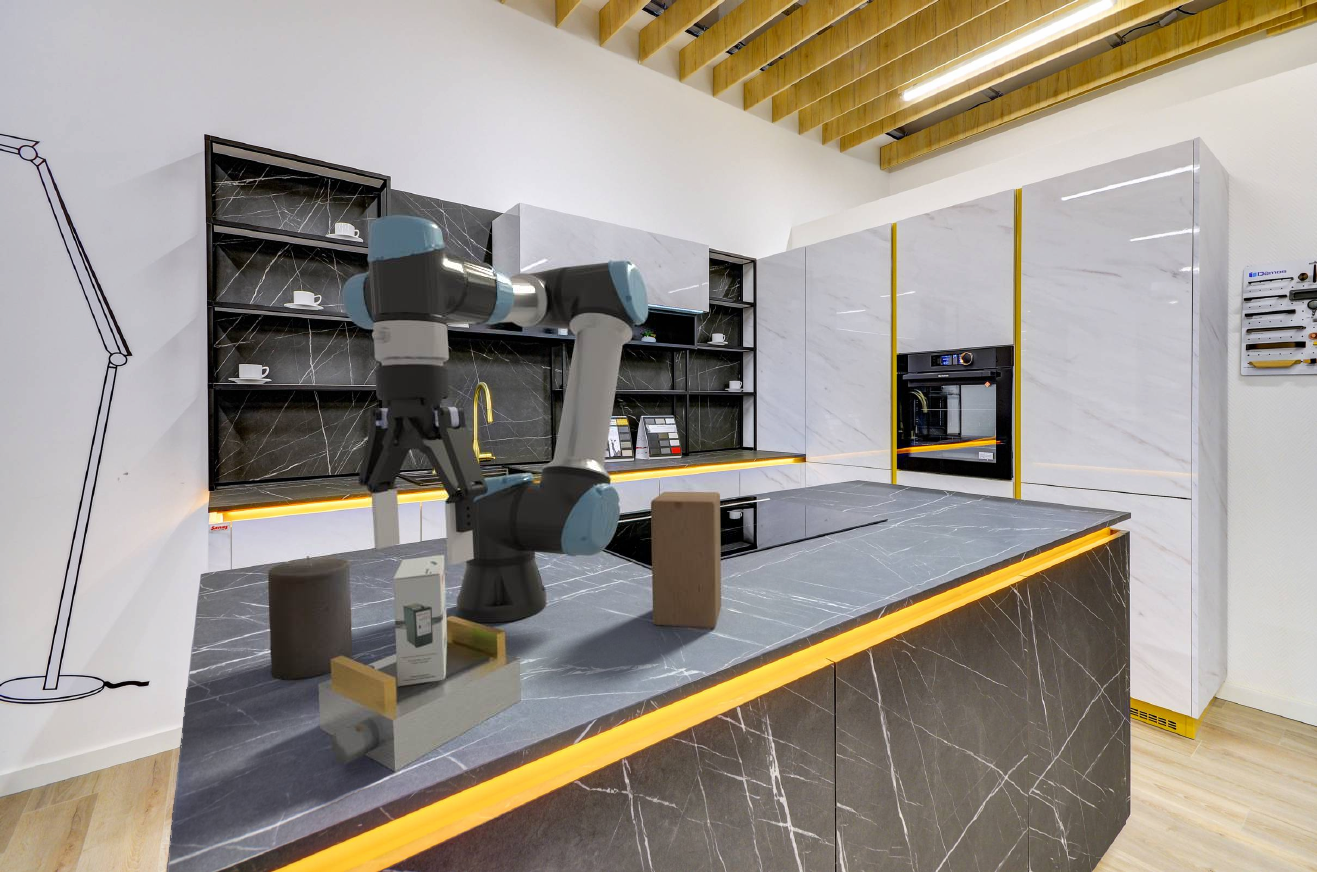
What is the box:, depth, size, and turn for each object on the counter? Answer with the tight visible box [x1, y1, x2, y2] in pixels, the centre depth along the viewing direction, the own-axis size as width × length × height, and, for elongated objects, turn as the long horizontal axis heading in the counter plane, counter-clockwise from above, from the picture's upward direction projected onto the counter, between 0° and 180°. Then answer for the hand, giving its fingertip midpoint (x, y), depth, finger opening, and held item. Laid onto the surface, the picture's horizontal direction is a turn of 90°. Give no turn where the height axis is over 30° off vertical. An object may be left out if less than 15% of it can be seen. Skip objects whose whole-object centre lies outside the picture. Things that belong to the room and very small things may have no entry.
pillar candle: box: [267, 555, 353, 681], centre depth 79 cm, size 10×10×15 cm
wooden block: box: [650, 491, 722, 629], centre depth 94 cm, size 10×10×20 cm
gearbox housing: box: [318, 615, 522, 772], centre depth 64 cm, size 14×19×8 cm
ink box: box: [392, 554, 447, 686], centre depth 65 cm, size 9×5×12 cm, turn 18°
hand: (422, 553), depth 65 cm, fingers open, 13 cm apart
